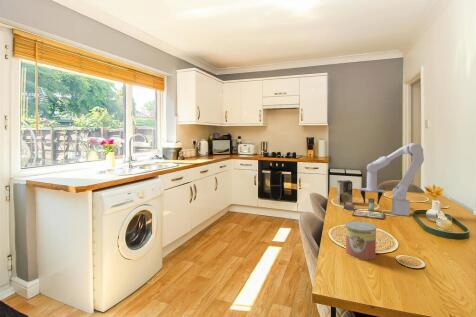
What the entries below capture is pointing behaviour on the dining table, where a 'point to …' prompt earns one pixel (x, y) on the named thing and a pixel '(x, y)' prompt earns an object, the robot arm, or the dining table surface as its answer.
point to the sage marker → (371, 204)
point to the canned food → (361, 239)
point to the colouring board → (368, 214)
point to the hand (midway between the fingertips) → (371, 203)
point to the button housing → (349, 207)
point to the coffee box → (344, 191)
